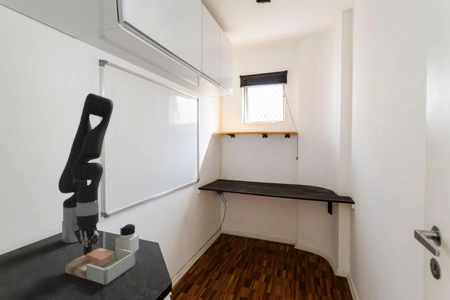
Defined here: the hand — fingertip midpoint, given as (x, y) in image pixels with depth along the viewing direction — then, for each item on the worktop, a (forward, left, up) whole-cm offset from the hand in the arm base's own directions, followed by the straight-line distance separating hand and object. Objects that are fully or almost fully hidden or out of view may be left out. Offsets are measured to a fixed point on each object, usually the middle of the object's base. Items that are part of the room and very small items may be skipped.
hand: (87, 254), depth 84 cm
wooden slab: (+3, 0, -4) cm, 5 cm away
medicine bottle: (+7, +13, -4) cm, 16 cm away
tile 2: (+8, 0, -1) cm, 8 cm away
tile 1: (+4, 0, -1) cm, 4 cm away
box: (+13, 0, -4) cm, 14 cm away
